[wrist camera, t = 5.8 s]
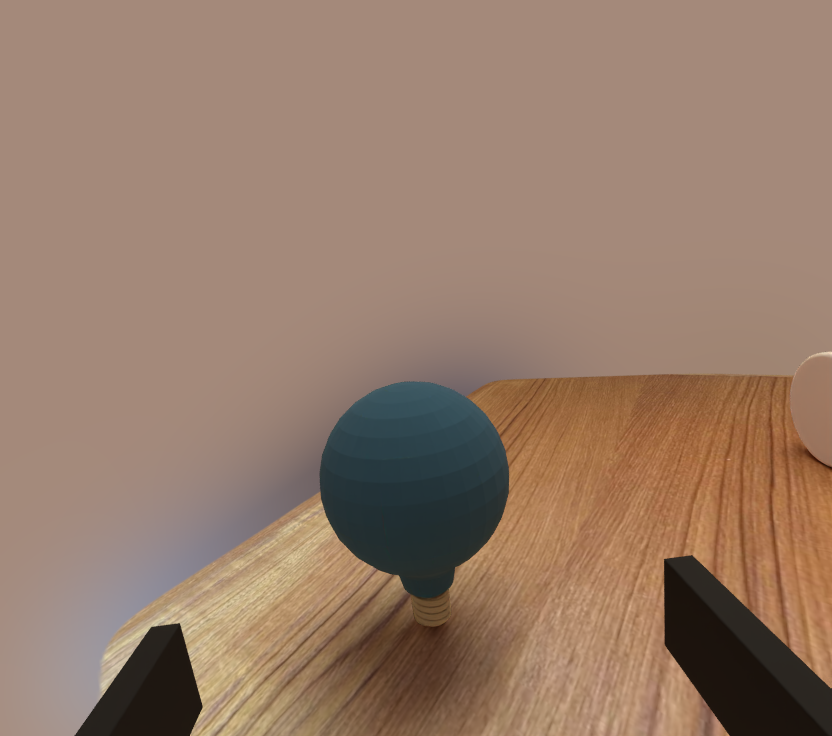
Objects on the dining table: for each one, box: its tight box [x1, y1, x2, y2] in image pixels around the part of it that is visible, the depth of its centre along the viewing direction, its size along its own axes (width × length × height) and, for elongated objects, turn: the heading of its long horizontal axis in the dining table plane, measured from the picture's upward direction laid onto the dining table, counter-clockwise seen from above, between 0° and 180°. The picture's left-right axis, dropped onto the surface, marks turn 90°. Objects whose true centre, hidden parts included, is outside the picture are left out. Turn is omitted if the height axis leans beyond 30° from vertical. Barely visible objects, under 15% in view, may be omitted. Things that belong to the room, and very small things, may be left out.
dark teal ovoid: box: [320, 382, 509, 627], centre depth 20 cm, size 8×8×12 cm
